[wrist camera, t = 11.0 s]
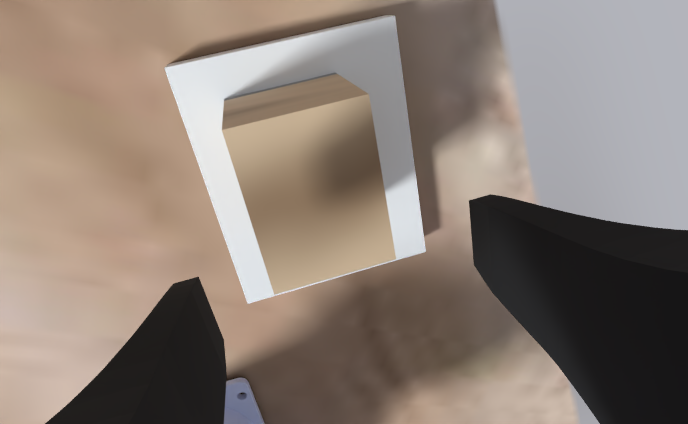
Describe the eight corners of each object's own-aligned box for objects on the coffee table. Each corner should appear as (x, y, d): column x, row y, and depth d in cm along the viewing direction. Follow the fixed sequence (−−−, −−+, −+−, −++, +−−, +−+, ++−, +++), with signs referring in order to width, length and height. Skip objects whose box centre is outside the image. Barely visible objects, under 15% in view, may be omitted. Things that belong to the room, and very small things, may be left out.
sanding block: (361, 205, 21) (396, 259, 17) (264, 231, 20) (274, 294, 16) (335, 72, 18) (368, 94, 14) (223, 99, 18) (221, 129, 13)
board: (417, 240, 24) (425, 251, 23) (247, 289, 23) (247, 303, 22) (385, 15, 19) (394, 15, 18) (168, 63, 18) (164, 67, 17)
